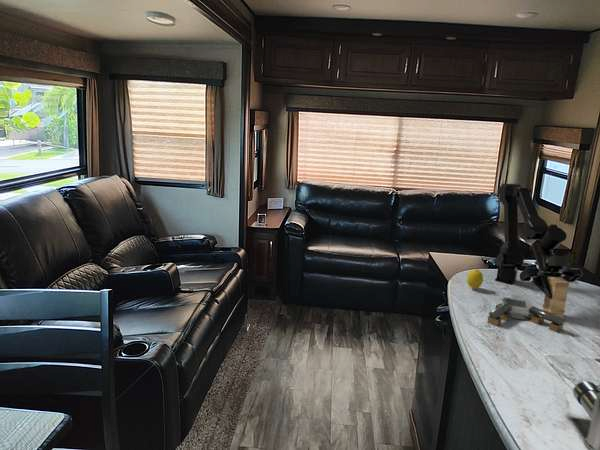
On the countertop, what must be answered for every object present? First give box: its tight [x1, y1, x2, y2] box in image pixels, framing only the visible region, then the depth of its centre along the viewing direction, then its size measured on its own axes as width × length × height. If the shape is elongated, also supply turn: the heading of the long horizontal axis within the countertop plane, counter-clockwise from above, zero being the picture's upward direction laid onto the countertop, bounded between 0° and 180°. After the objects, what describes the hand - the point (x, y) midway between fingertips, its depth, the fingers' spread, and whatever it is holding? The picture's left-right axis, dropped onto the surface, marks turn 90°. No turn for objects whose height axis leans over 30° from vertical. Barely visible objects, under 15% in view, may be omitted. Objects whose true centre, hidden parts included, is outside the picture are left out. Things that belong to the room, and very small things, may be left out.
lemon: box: [466, 268, 484, 290], centre depth 169 cm, size 6×6×8 cm
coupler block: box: [542, 277, 570, 318], centre depth 147 cm, size 5×5×12 cm
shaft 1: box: [486, 304, 512, 327], centre depth 143 cm, size 10×3×4 cm, turn 130°
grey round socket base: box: [494, 297, 533, 321], centre depth 150 cm, size 12×12×3 cm
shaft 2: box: [529, 305, 565, 333], centre depth 141 cm, size 10×3×4 cm, turn 30°
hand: (558, 298), depth 146 cm, fingers closed on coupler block, 4 cm apart
